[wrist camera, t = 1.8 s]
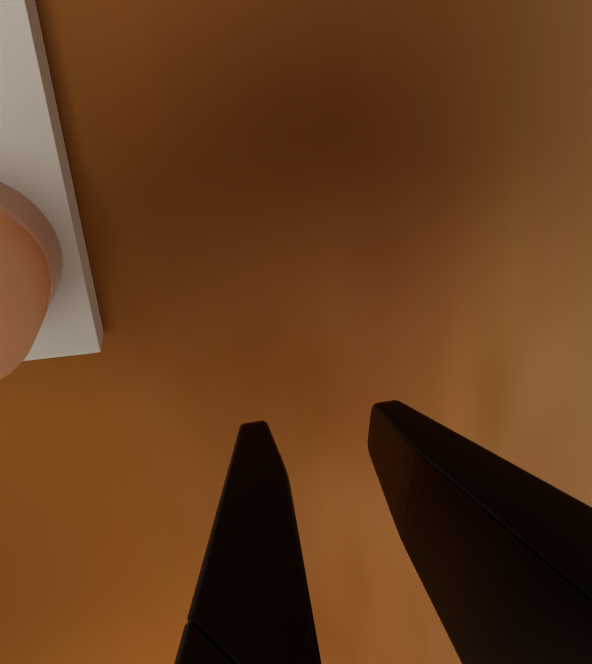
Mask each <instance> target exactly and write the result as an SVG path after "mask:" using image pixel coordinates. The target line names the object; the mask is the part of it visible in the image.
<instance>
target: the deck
mask: <svg viewBox="0 0 592 664" xmlns="http://www.w3.org/2000/svg"><path fill="white" fill-rule="evenodd" d="M0 182H2V183H4V184H6V185H8V186H10V187H12V188H13V189H15V190H16V191H18V192H19V193H21V194H22V195H24V196H25V197H26V198H27V199H29V200H30V201H31V202H32V203H33V204H34V205H35V206H36V207H37V208H38V209H39V210H40V211H41V212H42V213H43V214H44V216H45V217H46V218H47V219H48V221H49V223H50V224H51V226H52V227H53V229H54V231H55V233H56V235H57V238H58V240H59V243H60V247H61V251H62V258H63V268H62V275H61V279H60V282H59V285H58V288H57V290H56V292H55V295H54V297H53V299H52V302H51V304H50V306H49V309H48V311H47V313H46V316H45V318H44V320H43V323H42V325H41V327H40V330H39V332H38V334H37V337H36V339H35V341H34V344H33V346H32V348H31V350H30V352H29V354H28V355H27V356H26V358H25V359H24V360H23V361H27V360H36V359H45V358H54V357H63V356H72V355H80V354H89V353H98V352H100V351H101V345H102V340H103V334H104V332H103V327H102V322H101V317H100V312H99V308H98V303H97V298H96V293H95V288H94V283H93V278H92V274H91V269H90V264H89V259H88V254H87V249H86V245H85V240H84V235H83V230H82V225H81V220H80V216H79V211H78V206H77V201H76V196H75V191H74V186H73V182H72V177H71V172H70V167H69V162H68V157H67V153H66V148H65V143H64V138H63V133H62V128H61V123H60V119H59V114H58V109H57V104H56V99H55V94H54V90H53V85H52V80H51V75H50V70H49V65H48V61H47V56H46V51H45V46H44V41H43V36H42V31H41V27H40V22H39V17H38V12H37V7H36V2H35V0H0Z"/></svg>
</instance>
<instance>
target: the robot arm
mask: <svg viewBox="0 0 592 664" xmlns="http://www.w3.org/2000/svg"><path fill="white" fill-rule="evenodd" d="M368 450H369V454H370V457H371V460H372V463H373V465H374V468H375V471H376V474H377V476H378V479H379V482H380V484H381V487H382V490H383V493H384V495H385V498H386V501H387V504H388V506H389V509H390V512H391V515H392V517H393V520H394V523H395V525H396V528H397V531H398V533H399V536H400V538H401V540H402V542H403V544H404V547H405V549H406V551H407V553H408V555H409V557H410V559H411V561H412V563H413V565H414V567H415V569H416V571H417V573H418V575H419V577H420V579H421V581H422V583H423V585H424V587H425V589H426V591H427V594H428V596H429V598H430V600H431V602H432V604H433V606H434V608H435V610H436V612H437V614H438V616H439V618H440V620H441V622H442V624H443V626H444V628H445V630H446V632H447V634H448V636H449V638H450V640H451V642H452V644H453V646H454V648H455V650H456V652H457V654H458V656H459V658H460V660H461V662H462V664H592V507H590V506H588V505H586V504H585V503H583V502H581V501H579V500H577V499H575V498H574V497H572V496H570V495H568V494H566V493H565V492H563V491H561V490H559V489H557V488H556V487H554V486H552V485H550V484H548V483H547V482H545V481H543V480H541V479H539V478H537V477H536V476H534V475H532V474H530V473H528V472H527V471H525V470H523V469H521V468H519V467H518V466H516V465H514V464H512V463H510V462H509V461H507V460H505V459H503V458H501V457H499V456H498V455H496V454H494V453H492V452H490V451H489V450H487V449H485V448H483V447H481V446H480V445H478V444H476V443H474V442H472V441H471V440H469V439H467V438H465V437H463V436H461V435H460V434H458V433H456V432H454V431H452V430H451V429H449V428H447V427H445V426H443V425H442V424H440V423H438V422H436V421H434V420H433V419H431V418H429V417H427V416H425V415H423V414H422V413H420V412H418V411H416V410H414V409H413V408H411V407H409V406H407V405H405V404H404V403H402V402H400V401H397V400H392V401H385V402H379V403H376V404H374V405H373V407H372V410H371V417H370V426H369V434H368ZM187 620H188V623H187V624H186V625H185V627H184V631H183V634H182V638H181V641H180V645H179V649H178V652H177V656H176V659H175V663H174V664H321V658H320V653H319V647H318V641H317V636H316V630H315V624H314V618H313V613H312V607H311V601H310V596H309V590H308V584H307V578H306V573H305V567H304V561H303V556H302V550H301V544H300V539H299V533H298V527H297V521H296V516H295V510H294V504H293V499H292V493H291V487H290V482H289V478H288V474H287V471H286V468H285V466H284V463H283V460H282V458H281V455H280V453H279V451H278V448H277V446H276V443H275V441H274V438H273V436H272V433H271V431H270V428H269V426H268V424H267V422H265V421H256V422H249V423H244V424H242V425H241V426H240V428H239V432H238V435H237V439H236V443H235V446H234V450H233V454H232V457H231V461H230V464H229V468H228V472H227V475H226V479H225V483H224V486H223V490H222V494H221V497H220V501H219V505H218V508H217V512H216V515H215V519H214V523H213V526H212V530H211V534H210V537H209V541H208V545H207V548H206V552H205V556H204V559H203V563H202V567H201V570H200V574H199V577H198V581H197V585H196V588H195V592H194V596H193V599H192V603H191V607H190V610H189V614H188V618H187Z"/></svg>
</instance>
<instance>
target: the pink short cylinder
mask: <svg viewBox="0 0 592 664" xmlns="http://www.w3.org/2000/svg"><path fill="white" fill-rule="evenodd" d="M62 268H63V258H62V251H61V247H60V243H59V240H58V238H57V235H56V233H55V231H54V229H53V227H52V226H51V224H50V223H49V221H48V219H47V218H46V217H45V216H44V214H43V213H42V212H41V211H40V210H39V209H38V208H37V207H36V206H35V205H34V204H33V203H32V202H31V201H30V200H29V199H27V198H26V197H25V196H24V195H22V194H21V193H19V192H18V191H16V190H15V189H13V188H12V187H10V186H8V185H6V184H4V183H2V182H0V380H1V379H3V378H4V377H6V376H7V375H8V374H10V373H11V372H12V371H14V370H15V369H16V368H17V367H18V366H19V365H20V364H21V363H22V362H23V360H24V359H25V358H26V356H27V355H28V354H29V352H30V350H31V348H32V346H33V344H34V341H35V339H36V337H37V334H38V332H39V330H40V327H41V325H42V323H43V320H44V318H45V316H46V313H47V311H48V309H49V306H50V304H51V302H52V299H53V297H54V295H55V292H56V290H57V288H58V285H59V282H60V279H61V275H62Z"/></svg>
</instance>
